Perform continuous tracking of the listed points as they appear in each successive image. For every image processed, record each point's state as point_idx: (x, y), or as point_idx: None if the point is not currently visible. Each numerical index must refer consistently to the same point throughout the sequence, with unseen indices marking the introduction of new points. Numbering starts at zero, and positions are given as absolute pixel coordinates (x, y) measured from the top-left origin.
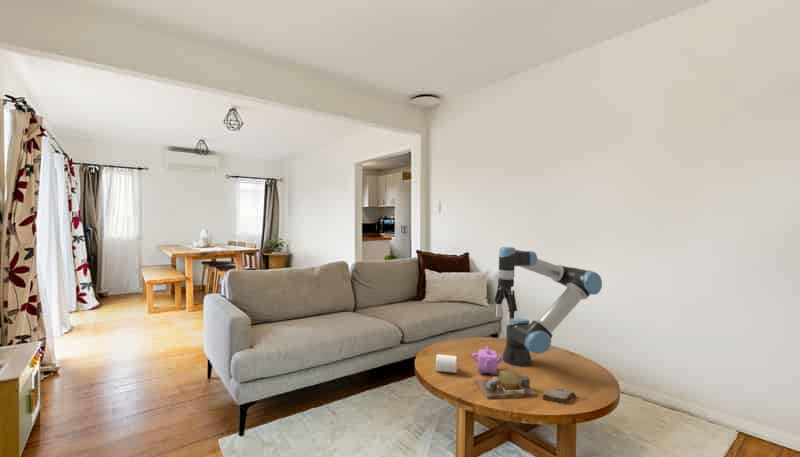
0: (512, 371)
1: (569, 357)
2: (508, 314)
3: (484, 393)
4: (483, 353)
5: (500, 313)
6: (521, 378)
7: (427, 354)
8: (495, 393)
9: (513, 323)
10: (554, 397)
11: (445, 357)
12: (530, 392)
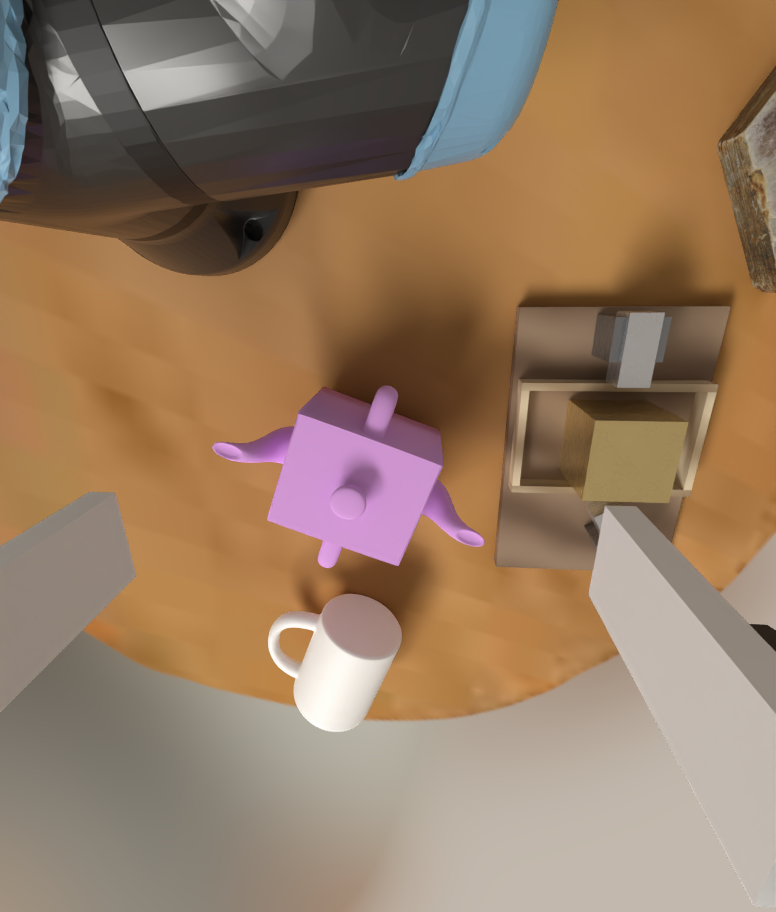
0: (610, 421)
1: None
2: (706, 781)
3: None
4: (353, 522)
5: (73, 550)
6: (649, 371)
7: (154, 651)
8: None
9: (645, 524)
10: None
11: (355, 701)
12: (704, 341)
